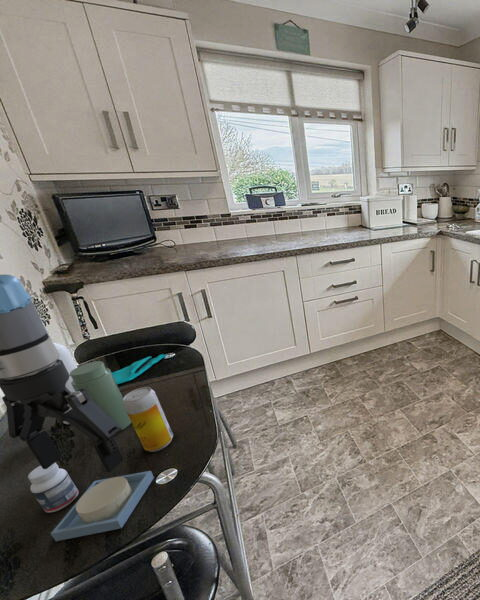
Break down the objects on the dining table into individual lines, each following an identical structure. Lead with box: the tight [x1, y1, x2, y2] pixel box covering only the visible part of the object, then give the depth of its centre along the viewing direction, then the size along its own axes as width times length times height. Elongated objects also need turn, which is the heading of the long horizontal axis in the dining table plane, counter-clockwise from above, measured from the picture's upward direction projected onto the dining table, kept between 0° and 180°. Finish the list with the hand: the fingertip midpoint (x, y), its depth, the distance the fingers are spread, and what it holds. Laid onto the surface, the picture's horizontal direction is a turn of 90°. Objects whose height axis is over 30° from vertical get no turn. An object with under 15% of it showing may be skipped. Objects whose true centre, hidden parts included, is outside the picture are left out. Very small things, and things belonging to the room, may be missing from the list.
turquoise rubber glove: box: [111, 353, 167, 385], centre depth 114 cm, size 26×14×2 cm, turn 132°
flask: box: [70, 360, 132, 436], centre depth 85 cm, size 8×8×18 cm
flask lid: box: [76, 476, 133, 524], centre depth 65 cm, size 8×8×3 cm
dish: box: [50, 470, 155, 542], centre depth 65 cm, size 11×11×2 cm
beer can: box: [123, 386, 174, 453], centre depth 78 cm, size 6×6×15 cm
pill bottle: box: [27, 462, 79, 514], centre depth 66 cm, size 5×5×9 cm
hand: (83, 464), depth 61 cm, fingers open, 13 cm apart
